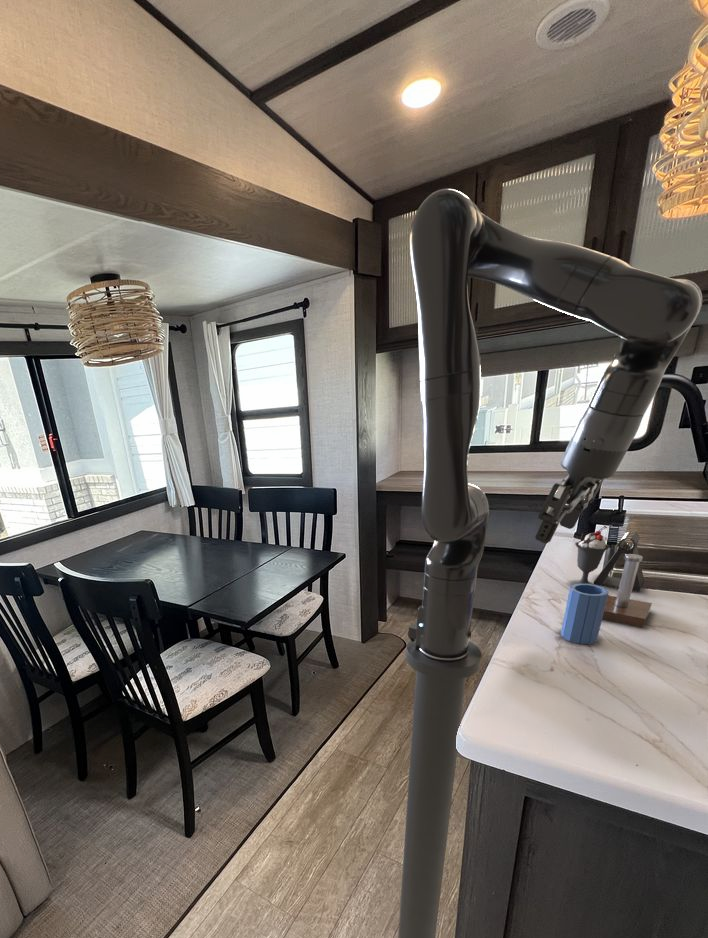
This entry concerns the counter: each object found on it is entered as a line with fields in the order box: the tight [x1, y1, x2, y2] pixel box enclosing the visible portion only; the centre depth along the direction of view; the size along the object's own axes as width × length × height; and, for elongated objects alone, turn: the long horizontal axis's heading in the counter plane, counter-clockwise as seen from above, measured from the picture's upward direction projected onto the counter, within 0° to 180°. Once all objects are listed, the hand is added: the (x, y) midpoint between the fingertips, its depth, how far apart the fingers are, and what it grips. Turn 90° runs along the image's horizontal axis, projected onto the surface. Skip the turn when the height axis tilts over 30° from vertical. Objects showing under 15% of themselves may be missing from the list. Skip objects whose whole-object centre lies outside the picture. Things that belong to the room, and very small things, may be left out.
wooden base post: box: [602, 553, 653, 629], centre depth 95 cm, size 9×9×13 cm
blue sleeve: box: [560, 584, 609, 645], centre depth 88 cm, size 6×6×10 cm
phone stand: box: [592, 531, 645, 593], centre depth 108 cm, size 9×6×12 cm, turn 46°
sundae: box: [570, 525, 611, 586], centre depth 109 cm, size 7×7×15 cm
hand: (554, 533), depth 80 cm, fingers open, 8 cm apart
